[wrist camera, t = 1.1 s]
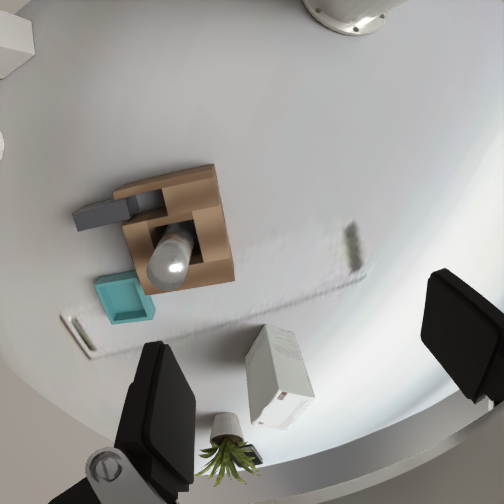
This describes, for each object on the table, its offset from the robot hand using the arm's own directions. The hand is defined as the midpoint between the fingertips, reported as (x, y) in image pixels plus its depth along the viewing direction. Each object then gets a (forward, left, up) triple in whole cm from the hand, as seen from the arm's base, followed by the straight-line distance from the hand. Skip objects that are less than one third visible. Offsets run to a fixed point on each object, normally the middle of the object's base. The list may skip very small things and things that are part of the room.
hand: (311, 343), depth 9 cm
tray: (+13, -21, -30) cm, 39 cm away
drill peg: (+5, -10, -30) cm, 32 cm away
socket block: (+5, -10, -30) cm, 32 cm away
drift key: (0, -19, -30) cm, 36 cm away
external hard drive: (+67, -12, -31) cm, 75 cm away
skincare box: (+27, -1, -31) cm, 41 cm away
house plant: (+48, -14, -30) cm, 59 cm away
